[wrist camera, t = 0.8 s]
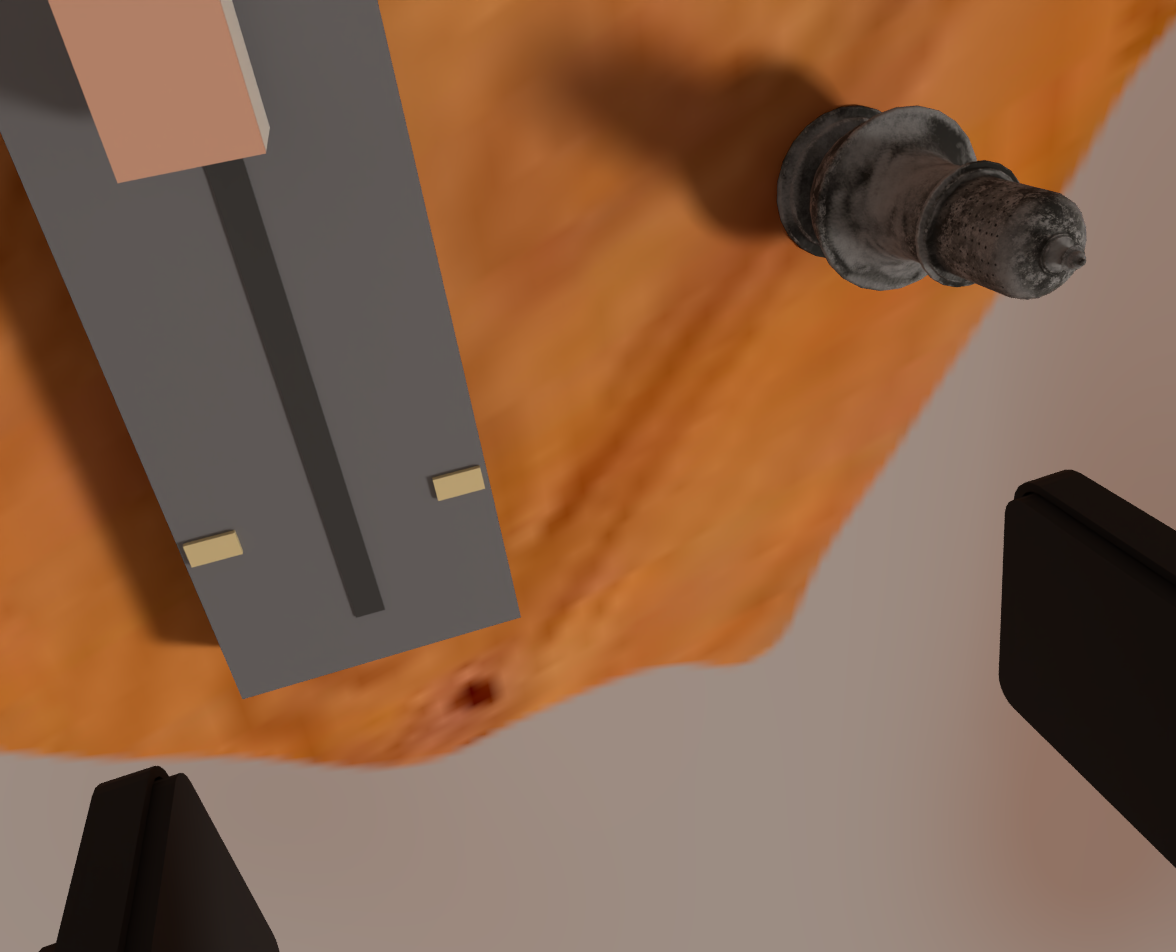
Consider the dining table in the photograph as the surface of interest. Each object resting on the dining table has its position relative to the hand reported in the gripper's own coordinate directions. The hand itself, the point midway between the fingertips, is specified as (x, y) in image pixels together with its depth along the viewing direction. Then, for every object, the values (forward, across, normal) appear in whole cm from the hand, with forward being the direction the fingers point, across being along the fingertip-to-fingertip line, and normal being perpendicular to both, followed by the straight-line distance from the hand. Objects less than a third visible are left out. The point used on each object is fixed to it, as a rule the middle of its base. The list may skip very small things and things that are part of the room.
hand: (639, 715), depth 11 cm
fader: (+21, +4, -7) cm, 22 cm away
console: (+24, +4, 0) cm, 24 cm away
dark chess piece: (+24, -16, +2) cm, 29 cm away
